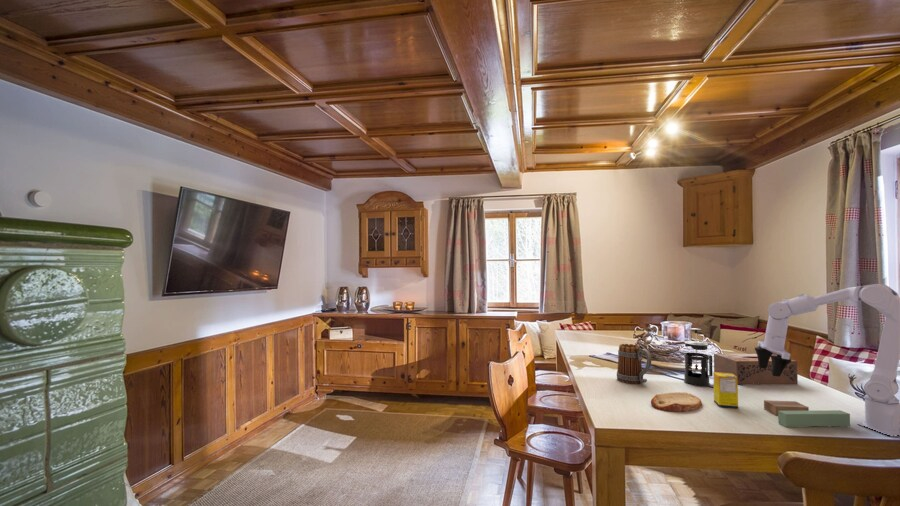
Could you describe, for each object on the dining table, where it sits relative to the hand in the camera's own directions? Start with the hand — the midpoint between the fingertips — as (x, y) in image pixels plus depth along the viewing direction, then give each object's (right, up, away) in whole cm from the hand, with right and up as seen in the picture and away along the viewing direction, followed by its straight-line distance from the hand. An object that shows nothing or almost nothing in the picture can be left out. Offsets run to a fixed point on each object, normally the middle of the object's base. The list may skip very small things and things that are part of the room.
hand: (769, 371), depth 148 cm
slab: (-2, -12, -9) cm, 15 cm away
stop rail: (-1, -11, -20) cm, 23 cm away
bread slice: (-34, -12, -1) cm, 36 cm away
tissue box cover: (+18, -13, +31) cm, 38 cm away
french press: (-10, -12, +25) cm, 30 cm away
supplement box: (-17, -12, -2) cm, 20 cm away
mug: (-36, -12, +27) cm, 47 cm away
